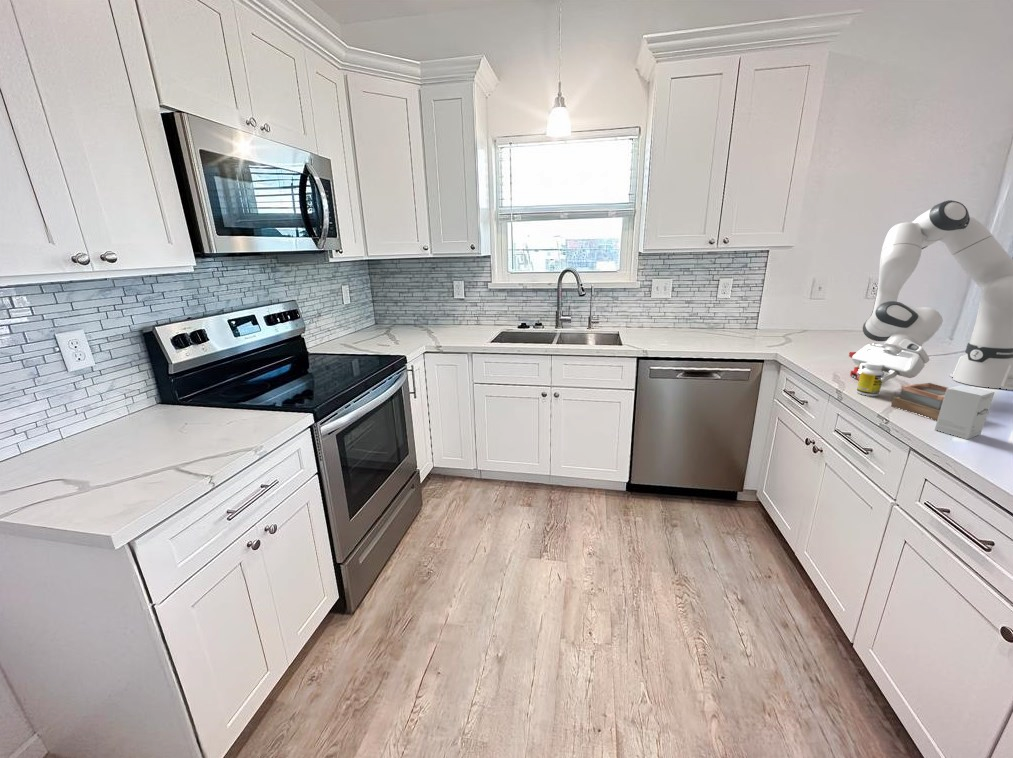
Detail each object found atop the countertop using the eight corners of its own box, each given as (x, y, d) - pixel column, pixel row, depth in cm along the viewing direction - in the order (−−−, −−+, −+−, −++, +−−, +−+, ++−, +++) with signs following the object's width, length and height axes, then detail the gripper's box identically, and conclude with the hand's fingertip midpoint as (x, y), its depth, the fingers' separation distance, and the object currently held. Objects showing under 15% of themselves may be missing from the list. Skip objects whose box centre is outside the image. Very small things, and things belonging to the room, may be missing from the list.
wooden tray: (922, 402, 144) (928, 381, 142) (970, 416, 132) (977, 394, 130) (891, 406, 142) (896, 385, 140) (936, 421, 130) (943, 398, 128)
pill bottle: (873, 398, 149) (880, 366, 146) (852, 393, 155) (859, 362, 151) (882, 394, 152) (889, 364, 149) (861, 390, 157) (868, 360, 154)
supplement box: (968, 440, 117) (982, 395, 114) (933, 430, 124) (945, 387, 120) (982, 435, 120) (996, 391, 116) (947, 425, 127) (959, 383, 123)
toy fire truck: (863, 383, 164) (869, 359, 161) (844, 373, 177) (849, 350, 174) (873, 384, 164) (879, 359, 161) (853, 374, 176) (859, 350, 174)
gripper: (865, 336, 159) (838, 364, 160) (928, 349, 140) (896, 380, 141) (872, 347, 162) (845, 375, 162) (935, 361, 142) (904, 392, 143)
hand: (869, 378), depth 152 cm, fingers closed on pill bottle, 6 cm apart
